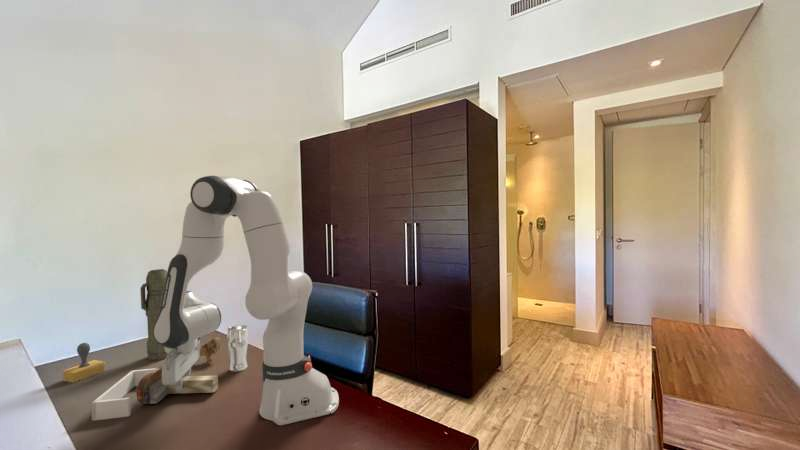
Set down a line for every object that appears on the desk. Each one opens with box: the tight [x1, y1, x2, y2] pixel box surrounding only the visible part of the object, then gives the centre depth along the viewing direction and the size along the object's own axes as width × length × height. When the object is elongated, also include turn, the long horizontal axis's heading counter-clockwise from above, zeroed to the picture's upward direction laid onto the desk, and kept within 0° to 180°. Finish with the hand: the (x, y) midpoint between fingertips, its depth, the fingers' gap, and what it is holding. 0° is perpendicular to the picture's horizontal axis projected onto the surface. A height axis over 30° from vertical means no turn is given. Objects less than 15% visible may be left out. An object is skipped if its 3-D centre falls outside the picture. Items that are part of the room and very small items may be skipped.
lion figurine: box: [193, 337, 223, 366], centre depth 136 cm, size 15×5×9 cm, turn 105°
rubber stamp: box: [62, 342, 106, 383], centre depth 127 cm, size 10×6×12 cm, turn 160°
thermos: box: [139, 268, 168, 361], centre depth 143 cm, size 9×12×35 cm
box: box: [90, 367, 157, 421], centre depth 110 cm, size 9×21×5 cm, turn 12°
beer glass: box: [226, 324, 249, 373], centre depth 131 cm, size 7×7×15 cm
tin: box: [136, 364, 163, 405], centre depth 111 cm, size 15×3×8 cm, turn 0°
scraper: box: [149, 375, 219, 404], centre depth 113 cm, size 16×14×5 cm
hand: (182, 385), depth 113 cm, fingers closed on scraper, 3 cm apart
